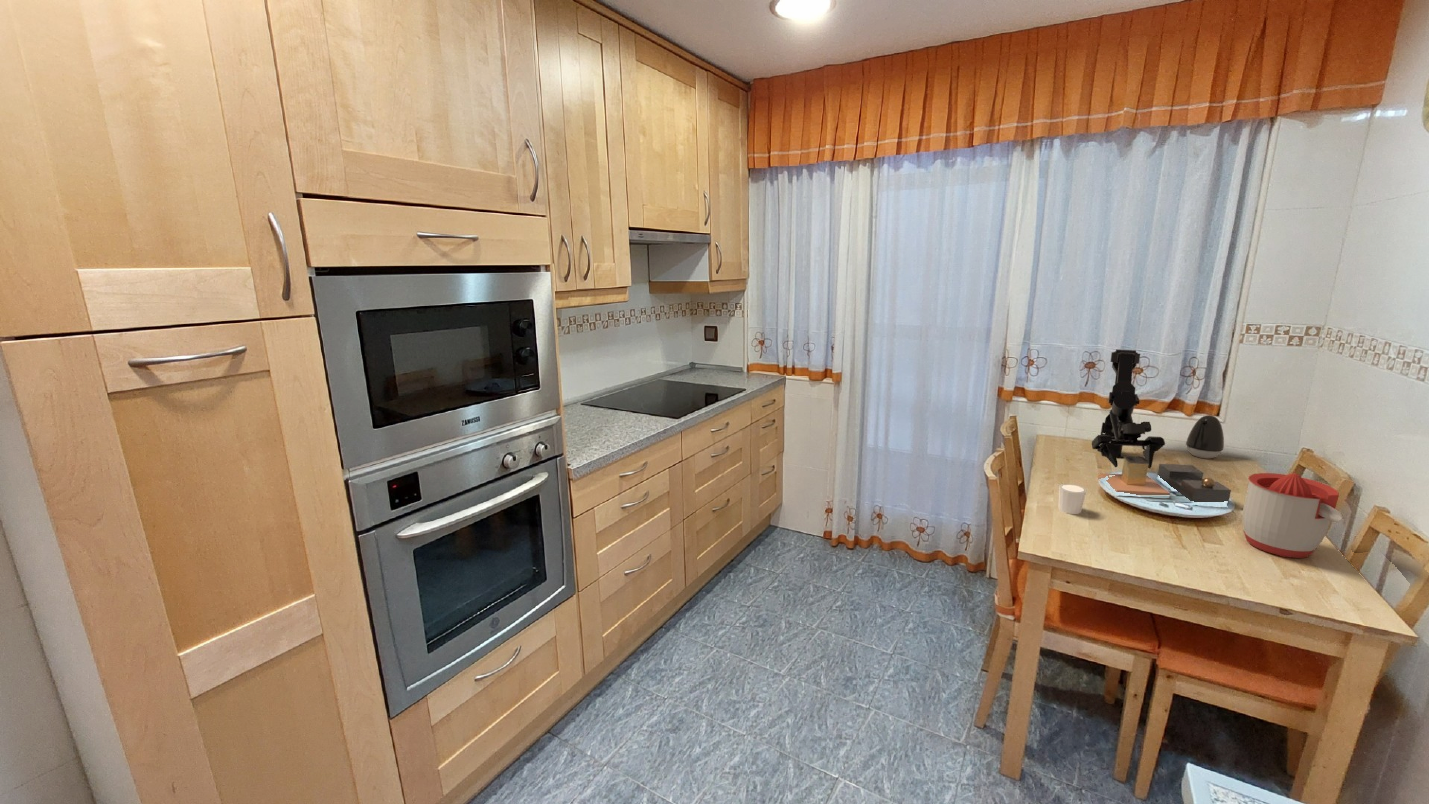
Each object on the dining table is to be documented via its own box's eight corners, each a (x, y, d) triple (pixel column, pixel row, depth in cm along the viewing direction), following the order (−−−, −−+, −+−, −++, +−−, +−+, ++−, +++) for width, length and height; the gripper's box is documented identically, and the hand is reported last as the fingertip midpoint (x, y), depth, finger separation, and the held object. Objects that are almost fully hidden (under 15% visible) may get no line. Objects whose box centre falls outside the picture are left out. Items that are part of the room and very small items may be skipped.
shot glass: (1075, 505, 169) (1078, 483, 167) (1088, 515, 162) (1091, 493, 160) (1051, 504, 169) (1054, 483, 167) (1063, 515, 163) (1066, 492, 161)
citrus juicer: (1302, 572, 131) (1323, 492, 126) (1219, 537, 147) (1235, 466, 142) (1348, 560, 135) (1369, 483, 130) (1262, 528, 151) (1279, 458, 146)
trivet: (1097, 478, 186) (1098, 473, 186) (1146, 481, 183) (1147, 475, 183) (1116, 496, 173) (1117, 490, 173) (1169, 499, 170) (1170, 493, 170)
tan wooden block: (1120, 479, 180) (1124, 456, 178) (1138, 480, 179) (1142, 456, 177) (1126, 484, 176) (1130, 460, 174) (1145, 485, 175) (1149, 461, 173)
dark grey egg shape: (1177, 454, 205) (1185, 414, 201) (1193, 449, 209) (1201, 410, 205) (1211, 463, 196) (1219, 421, 192) (1227, 457, 200) (1235, 416, 196)
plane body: (1156, 479, 184) (1160, 456, 182) (1188, 481, 182) (1193, 457, 180) (1191, 505, 165) (1195, 480, 163) (1227, 507, 163) (1232, 482, 161)
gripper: (1100, 411, 181) (1109, 455, 173) (1167, 412, 176) (1180, 458, 169) (1087, 427, 190) (1096, 469, 183) (1150, 428, 186) (1162, 472, 178)
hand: (1133, 467), depth 178 cm, fingers open, 9 cm apart
